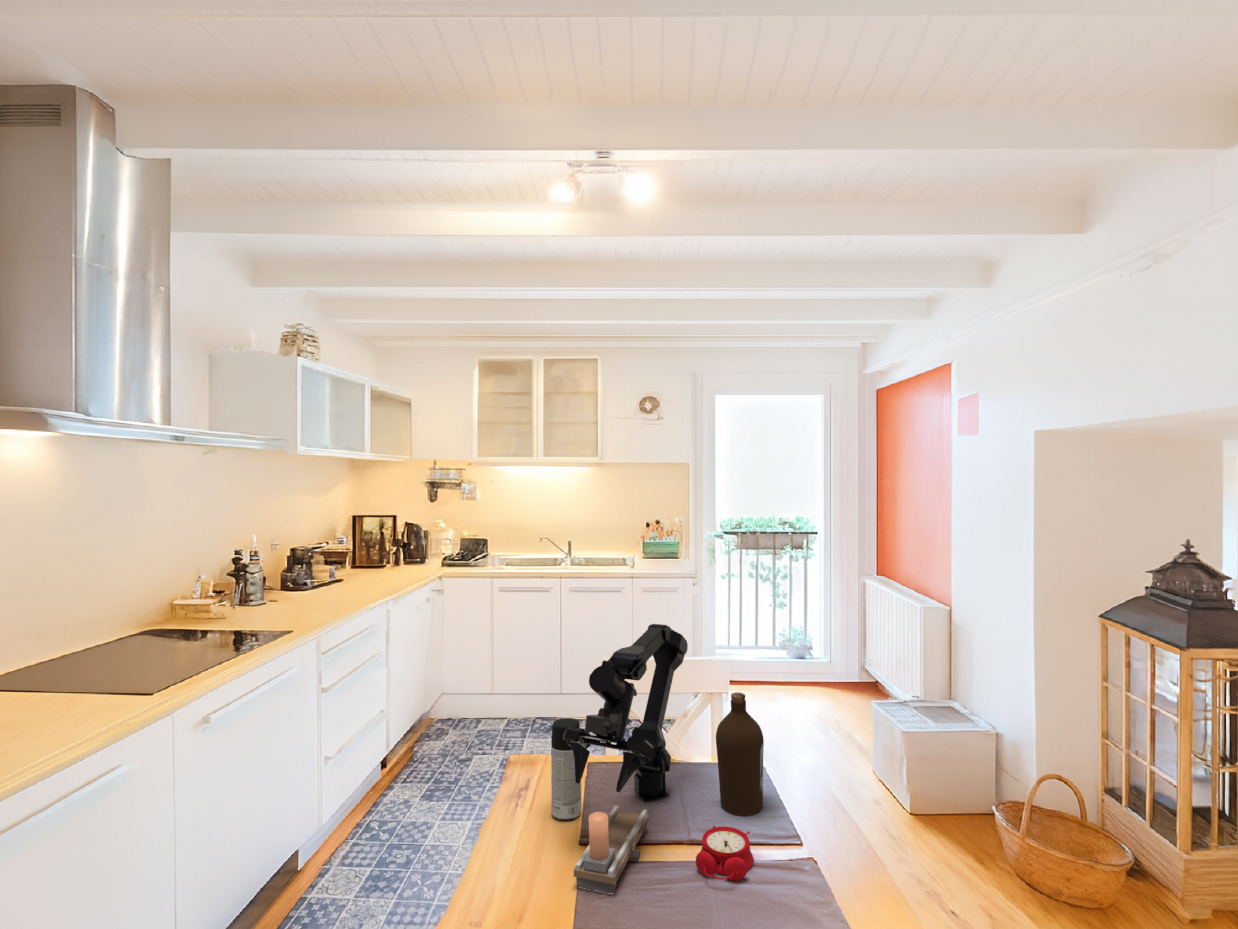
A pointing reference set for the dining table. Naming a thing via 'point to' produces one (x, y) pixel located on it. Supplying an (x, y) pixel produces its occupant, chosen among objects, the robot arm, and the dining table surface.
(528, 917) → the dining table surface
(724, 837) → the alarm clock
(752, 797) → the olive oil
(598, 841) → the rider
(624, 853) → the brown piece
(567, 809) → the spray can
